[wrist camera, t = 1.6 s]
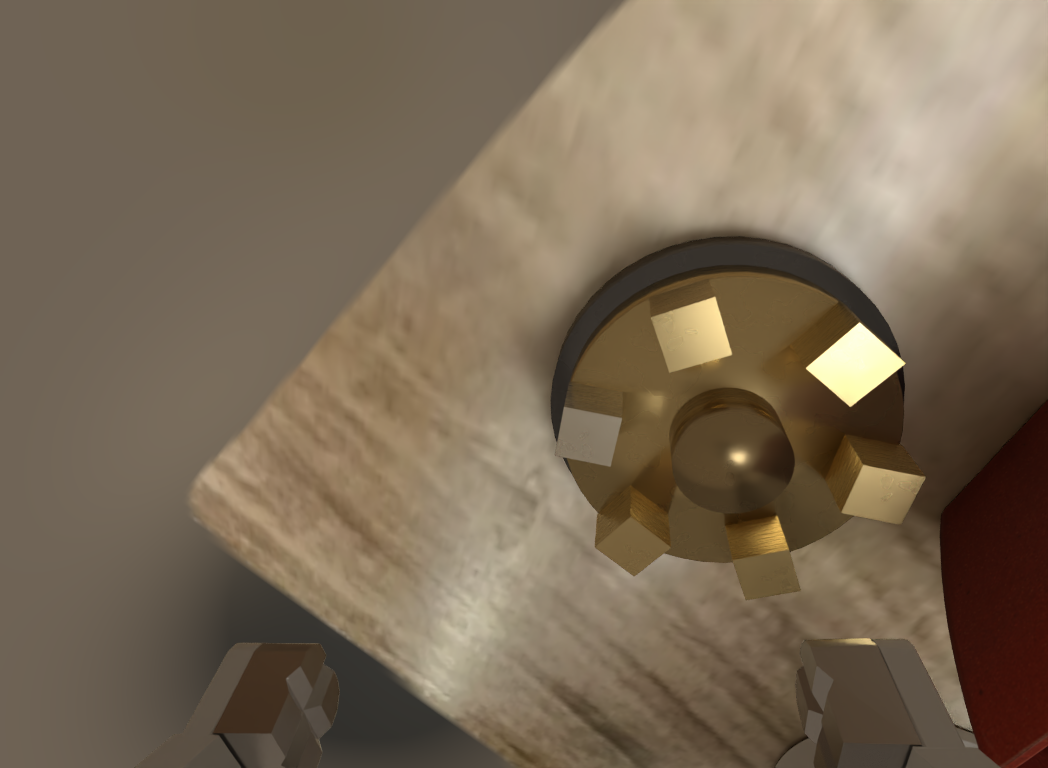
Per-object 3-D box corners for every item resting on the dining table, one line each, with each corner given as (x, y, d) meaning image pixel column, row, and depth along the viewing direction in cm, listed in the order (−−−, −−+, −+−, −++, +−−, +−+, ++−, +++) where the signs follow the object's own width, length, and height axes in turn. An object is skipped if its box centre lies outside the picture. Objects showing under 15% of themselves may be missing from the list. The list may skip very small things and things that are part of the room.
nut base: (952, 270, 33) (973, 283, 31) (821, 553, 42) (830, 577, 40) (584, 208, 35) (581, 216, 33) (533, 493, 44) (529, 514, 42)
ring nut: (943, 297, 32) (999, 336, 27) (820, 561, 40) (846, 628, 35) (596, 238, 33) (590, 264, 28) (546, 504, 41) (534, 561, 36)
